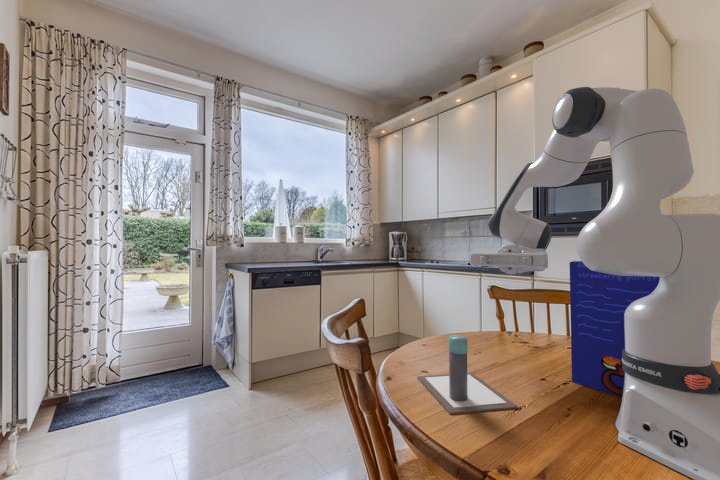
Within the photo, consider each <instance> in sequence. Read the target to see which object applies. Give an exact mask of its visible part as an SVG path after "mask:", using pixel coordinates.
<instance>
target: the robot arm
mask: <svg viewBox="0 0 720 480" xmlns="http://www.w3.org/2000/svg"><path fill="white" fill-rule="evenodd" d="M551 117H552V118H551V121H552V122H551V123H552V126H553V130H552V132H551V134H550V135H549V137H548V140H547V142H546V144H545V146H544V149H543V151H542V153H541V155H540V156H539V157H538V159H537V160H535V161H534V162H528V163H527V164H526V165H525V166H523V168H522V169H521V170H520V171H519V173H518V175H517V176H516V177H515V178H514V180H513V182H512V184H511V185H510V187H509V189H508V191H507V192H506V194H505V195H504V197H503V199H502V200H501V202H500V204H499V205H498V207H497V209H496V210H495V211H494V212H493V214H491V217H490V219H489V221H488V225H487V226H488V229H489V232H490V233H491V234H492V236H493V237H497V238H500V239H504V240H505V241H508V242H509V243H510V242H511V243H512V244H505V245H503V246H501V247H500V248H499V249H498V250H497V251H496V252H473V253H472V252H471V253H470V254H469V264H470V265H471V266H472V267H473V266H475V267H478V266H479V267H497V268H498V269H499V270H500V271H501V272H503V273H504V274H507V275H516V274H522V273H523V274H524V273H528V272H529V273H530V272H531V273H532V272H544V271H545V270H547V269H548V267H549V253H548V252H547V251H546V250H547V248H548V247H549V246H550V243H551V240H552V236H553V233H552V232H553V231H552V228H551V226H550V224H549V223H547V222H546V221H545V222H544V221H543V220H539V219H537V218H535V217H532V216H530V215H527V214H525V213H522V212H519V211H518V210H517V209H516V206H517V205H518V202H519V201H520V199H521V198H522V196H523V195H524V193H525V192H526V190H528V189H530V188H544V187H545V188H555V187H556V188H557V187H562V186H566V185H568V184H569V185H570V184H572V183H573V182H575V181H577V180H578V179H579V178H580V176H581V175H582V173H583V172H584V171H585V169H586V167H587V165H588V164H589V162H590V160H591V158H592V156H593V153H594V151H595V148H596V147H597V145H598V144H599V143H600V142H609V148H610V159H611V167H612V168H611V169H612V170H611V171H612V190H611V191H612V192H611V195H610V198H609V201H608V202H607V203H606V206H605V207H604V209H602V211H601V212H600V213H599V214H598V215H596V217H594V218H593V219H591V220H590V221H588V222H587V223H586V224H585V225H584V226H583V228H581V230H580V231H579V233H578V236H577V239H576V251H577V255H578V257H579V260H580V261H582V262H583V263H584V265H585V266H586V267H587V268H589V269H590V270H592V271H596V272H601V273H606V274H612V275H618V276H653V277H660V280H659V283H658V285H657V287H656V289H655V290H654V291H653V292H652V293H651V294H649V295H648V296H645V297H643V298H640V299H638V300H636V301H634V302H632V303H631V304H630V305H629V306H628V307H627V309H626V311H625V313H624V330H625V349H623V350H622V369H623V370H624V372H625V379H624V390H623V397H622V396H621V404H620V407H619V412H618V414H617V415H618V416H617V417H616V420H615V422H614V423H615V427H616V429H617V430H618V433H617V434H618V435H617V441H618V442H619V443H620V444H622V445H624V446H625V447H628V448H630V449H632V450H634V451H636V452H638V453H640V454H643V455H645V456H646V457H649V458H650V459H652V460H655V461H656V462H658V463H660V464H662V465H664V466H666V467H669V468H670V469H672V470H674V471H676V472H679V473H681V474H683V475H685V476H687V477H689V478H690V479H692V480H720V373H719V371H718V369H717V367H716V366H715V364H714V363H713V362H712V359H711V358H712V357H711V355H712V351H711V349H712V348H711V347H712V345H711V344H712V342H711V341H712V325H713V317H714V314H715V311H716V309H717V306H718V304H719V302H720V214H716V213H688V214H687V213H686V214H684V213H683V214H682V213H681V214H678V213H677V214H662V211H661V202H662V200H665V199H667V198H668V197H669V198H670V197H671V196H673V195H676V194H677V193H678V192H680V191H682V190H684V188H686V187H687V185H689V184H690V182H691V180H692V179H693V177H694V172H695V170H694V167H693V160H692V154H691V150H690V145H689V138H688V134H687V129H686V126H685V123H684V122H685V121H684V119H683V118H684V117H682V114H681V111H680V109H679V106H678V105H677V102H676V101H675V99H674V97H673V95H671V93H669V92H668V91H667V90H664V89H660V88H645V89H640V90H634V89H627V88H620V87H602V86H601V87H600V86H599V87H589V86H581V87H576V88H571V89H568V90H567V91H565V92H564V93H563V94H562V95H561V96H560V98H559V99H558V100H557V102H556V103H555V106H554V109H553V112H552V116H551Z"/></svg>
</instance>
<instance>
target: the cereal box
mask: <svg viewBox="0 0 720 480" xmlns="http://www.w3.org/2000/svg"><path fill="white" fill-rule="evenodd" d="M659 280H660V277H653V276H618V275H612V274H606V273H601V272H596V271H592V270H590V269H589V268H587V267H586V266H585V265H584V263H583V262H582V261H581V260H572V261H569V296H570V297H569V298H570V299H569V303H570V305H569V307H570V348H571V350H570V351H571V352H570V356H571V383H573V384H574V383H575V384H578V385H581V386H583V387H588V388H591V389H594V390H598V391H601V392H605V393H608V394H612V395H615V396H618V397H621V398H622V397H623V390H624V379H625V372H624V370H623V369H622V350H623V349H625V330H624V313H625V311H626V309H627V307H628V306H629V305H630V304H631V303H632V302H634V301H636V300H638V299H640V298H643V297H645V296H648V295H649V294H651V293H652V292H653V291H654V290H655V289H656V287H657V285H658V283H659Z"/></svg>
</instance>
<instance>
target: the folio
mask: <svg viewBox="0 0 720 480" xmlns="http://www.w3.org/2000/svg"><path fill="white" fill-rule="evenodd" d="M416 379H417V380H418V381H419V382H420V383H421V384H422V385H423V386H424V387H425V388H426V390H427V391H428V392H429V393H430V394H431V396H433V397H434V399H435V400H436V401H437V402H439V404H440V405H441V406H442V407H443V408H444V409H445V411H446V412H447V413H448V414H449V415H458V414H459V415H460V414H470V413H479V412H480V413H481V412H491V411H493V412H494V411H501V410H502V411H503V410H510V409H513V410H514V409H519V406H518V405H517V404H515V403H514V402H513V401H511V400H510V398H507V397H506V396H504V395H503V394H501V393H500V392H499V391H497V389H495V388H493V387H492V386H491V385H489V384H488V383H486V382H485V381H484V380H482V379H481V378H479V377H478V376H477V375H475V373H473V372H467V384H468V399H467V400H466V401H463V402H460V401H454V400H452V399H451V398H450V397H449V373H448V374H447V373H446V374H434V375H433V374H432V375H421V376H419V375H417V378H416Z"/></svg>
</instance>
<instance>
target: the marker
mask: <svg viewBox="0 0 720 480" xmlns="http://www.w3.org/2000/svg"><path fill="white" fill-rule="evenodd" d="M468 342H469V341H468V337H467V336H464V335H458V334H457V335H456V334H453V335H448V359H449V361H448V367H449V368H448V369H449V371H448V372H449V373H448V374H449V397H450V398H451V399H452V400H454V401H460V402H463V401H466V400H467V399H468V384H467V373H468V350H469V349H468V347H469V346H468V345H469V344H468Z"/></svg>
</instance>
